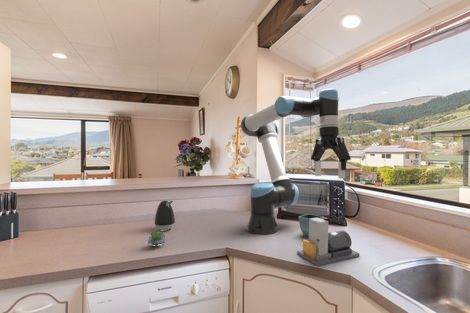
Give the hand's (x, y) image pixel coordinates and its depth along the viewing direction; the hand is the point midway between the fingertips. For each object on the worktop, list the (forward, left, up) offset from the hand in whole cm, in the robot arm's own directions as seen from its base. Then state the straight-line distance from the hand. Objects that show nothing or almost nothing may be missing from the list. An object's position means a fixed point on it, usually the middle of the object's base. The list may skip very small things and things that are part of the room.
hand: (329, 177), depth 104 cm
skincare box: (+8, -13, -27) cm, 31 cm away
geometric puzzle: (-27, -68, -29) cm, 79 cm away
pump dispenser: (-51, -62, -29) cm, 85 cm away
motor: (+8, -8, -29) cm, 31 cm away
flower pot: (-13, +1, -29) cm, 32 cm away
